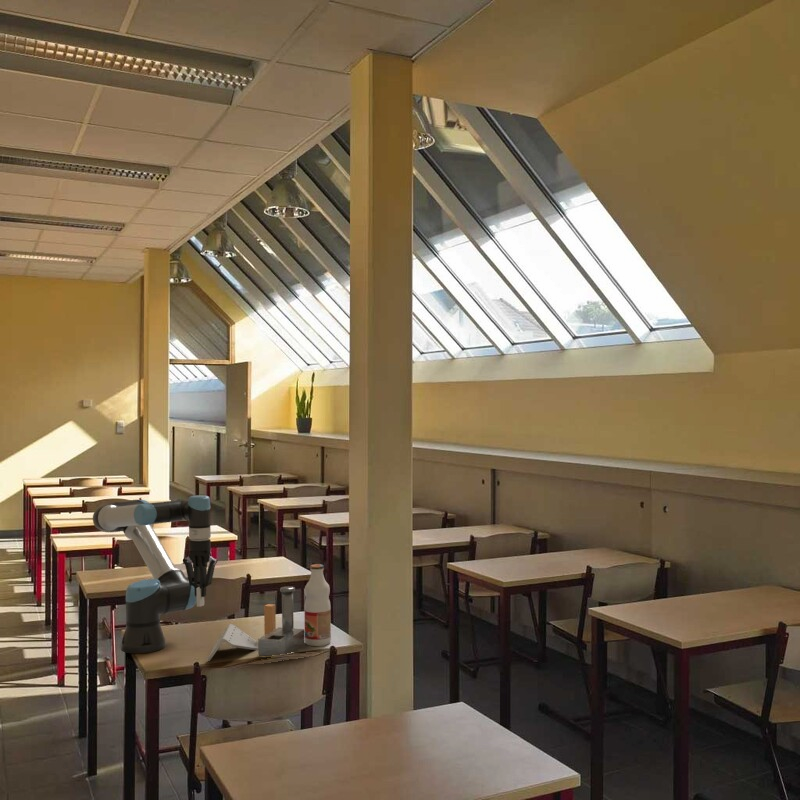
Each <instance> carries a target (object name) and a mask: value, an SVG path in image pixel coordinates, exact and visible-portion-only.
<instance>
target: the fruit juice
mask: <svg viewBox="0 0 800 800" xmlns="http://www.w3.org/2000/svg"><path fill="white" fill-rule="evenodd" d="M309 567H310V568H309V570H310V577H309V580H308V581H307V583H306V585H305V586H304V596H305V600H304V607H303V608H304V612H303V613H304V644H305V645H307V646H309V647H310V646H312V647H322V646H327V645H329V644H330V643H331V640H332V636H331V635H332V633H331V632H332V629H331V627H332V626H331V625H332V624H331V623H332V621H331V618H332V617H331V616H332V615H331V601H330V597H329V596H330V591H331V590H330V589H331V588H330V584H329V583H328V582H327V581H326V579H325V576H324V570H325V567H324V564H320V563H316V564H315V563H314V564H311V565H309Z"/></svg>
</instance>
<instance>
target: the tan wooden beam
mask: <svg viewBox="0 0 800 800" xmlns="http://www.w3.org/2000/svg"><path fill="white" fill-rule="evenodd" d="M263 609H264V611H263V612H264V619H263V620H264V621H263V622H264V636H265V635H266V634H268V633H270V632H272V631H273V630H275V629H277V626H276V625H277V624H276V623H277V622H276V619H277V618H276V614H277V613H276V604H273V603H268V604H265V605H264V607H263Z"/></svg>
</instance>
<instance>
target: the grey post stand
mask: <svg viewBox="0 0 800 800" xmlns="http://www.w3.org/2000/svg"><path fill="white" fill-rule="evenodd" d="M295 591H296V587H295V586H282V587H280V588H279V592H280V593H281V622H282V623H281V626H280V627H279V626H278V627H276V629H275V630H273V631H272V632H270V633H268V634H266V635H265V634H264V635H263V636H261V637H260V638H258V640H257V642H258V649H257V653H258V654H257V655H259V656H272V655H280V654H287V653H291V652H295V653H297V652H298V651H299V650H301V649H303V648H304V647H305V645H306V643H305V628H294V627H295V626H294V592H295Z"/></svg>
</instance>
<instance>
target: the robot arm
mask: <svg viewBox="0 0 800 800" xmlns="http://www.w3.org/2000/svg"><path fill="white" fill-rule="evenodd" d="M211 508H212V507H211V498H210V496H208V495H202V494H200V495H199V494H198V495H191V496H189V497H188V499H184V498H180V499H179V498H177V499H174V500H169V501H160V502H159V501H158V502H149V501H148V500H145V499H133V500H127V501H126V500H124V501H114V502H113V501H111V502H106V503H103V504H101V505H100V506H98V507H97V508H96V509H95V511H94V512H93V514H92V522H93V525H94V527H95V528H96V529H97V530H99V531H101V532H104V533H116V532H117V533H118V532H119V533H120V532H123V533H124V535H125V537H126V538H127V539H129V540H132V542H133V543H134V545H135V547H136V549H137V550H138V552H139V554H140V556H141V558H142V559H143V561H144V563H145V566H146V567H147V568H148V570H149V572H150V574H151V576H152V578H148V579H141V580H138V581H135V582H133V583H130V584H129V585H128V586H127V588H126V592H125V622H126V623H125V625H126V626H125V630H124V633H123V637H122V639H121V642H120V651H121V652H123V653H126V654H149V653H152V652H157V651H160V650H162V649H164V648H165V647H166V638H165V635H164V631H163V629H162V626H161V615H162V616H163V615H166V614H171V613H177V612H181V611H186V610H189V609H192V608H193V607H195V605H196V607H197V608H198V607H200V608H201V607H203V606H205V597H206V596H207V587H208V586H211V585H212V583H213V582H212V581H213V578H214V573H215V566H216V565H217V563H218V559H217V558H214V557H213V556H212V553H211V548H212V545H211V544H212V543H211V542H212V541H211V532H212V530H211ZM182 521H183V522H184V521H185V522H188V539H189V540H188V550H189V553H188V556H187V557H185V558H183V559H182V562H183V564H184V565H185V566H184V567H185V571H186V574H185V573H184V572H183V570H182V569H179V568H177V567H176V566H175V565H174V562H173V561H172V560H171V557H170V556H169V554H168V552H167V550H166V549H165V547H164V545H163V543H162V542H161V540H160V538H159V536H158V535H157V533H156V531H155V530H154V525H157V524H166V523H175V522H182ZM186 575H187V576H186Z"/></svg>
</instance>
